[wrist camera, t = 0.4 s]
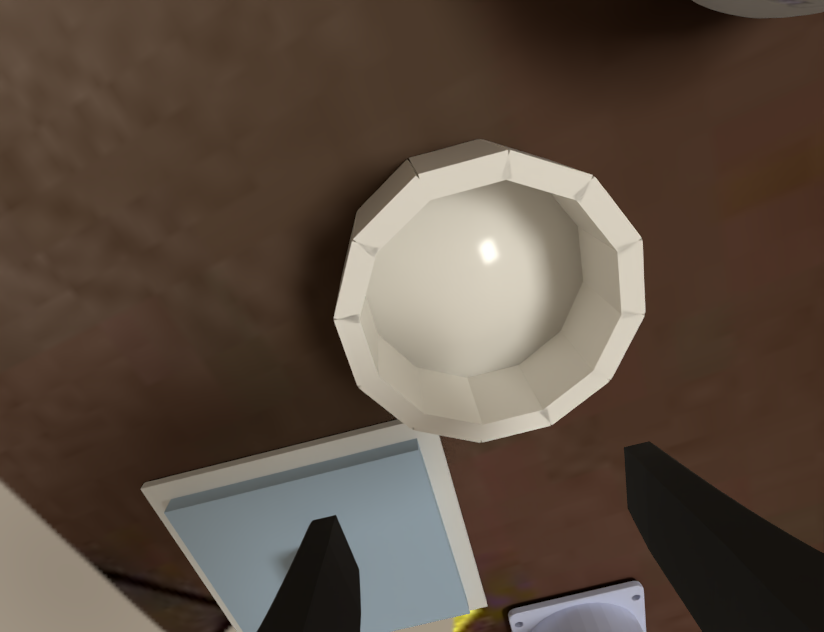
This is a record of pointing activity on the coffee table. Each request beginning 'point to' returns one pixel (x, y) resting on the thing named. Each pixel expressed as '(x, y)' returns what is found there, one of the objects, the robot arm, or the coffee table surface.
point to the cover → (362, 526)
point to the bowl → (488, 291)
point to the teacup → (764, 7)
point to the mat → (318, 452)
